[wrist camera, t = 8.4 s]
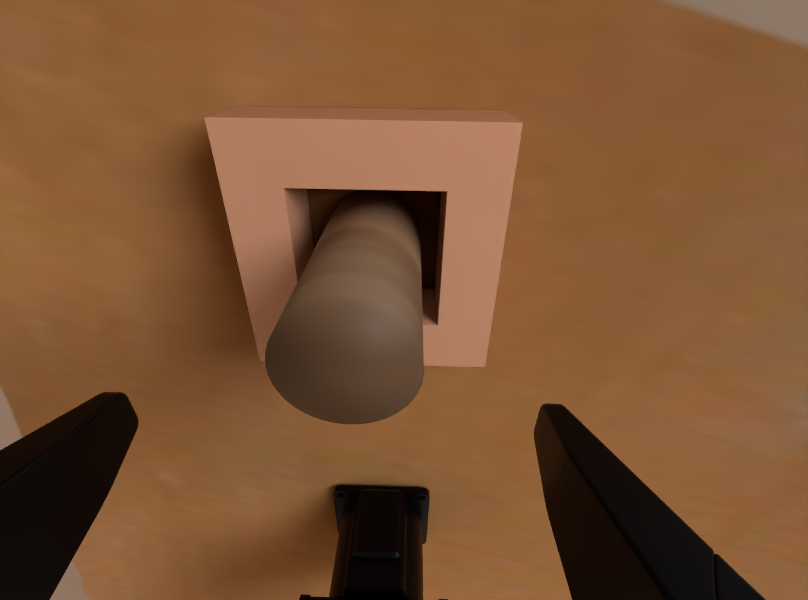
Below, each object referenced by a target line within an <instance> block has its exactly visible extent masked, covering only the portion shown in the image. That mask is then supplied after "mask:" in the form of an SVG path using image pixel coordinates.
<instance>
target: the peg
mask: <svg viewBox="0 0 808 600" xmlns="http://www.w3.org/2000/svg"><path fill="white" fill-rule="evenodd" d="M265 364H266V370H267V373H268V376H269V378H270V380H271V382H272V384H273V385H274V387H275V388H276V390H277V391H278V392H279V393H280V395H281V396H282V397H283V398H284V399H285V400H287V401H288V402H289V403H290V404H291V405H293V406H294V407H296V408H297V409H299V410H301V411H302V412H304V413H306V414H308V415H310V416H313V417H315V418H318V419H321V420H325V421H329V422H334V423H340V424H364V423H370V422H375V421H379V420H382V419H385V418H388V417H390V416H392V415H394V414H396V413H397V412H399V411H401V410H402V409H403V408H405V407H406V406H407V405H408V404H409V403H410V402H411V401H412V400H413V399H414V397H415V396H416V395H417V393H418V391H419V389H420V387H421V384H422V381H423V375H424V355H423V316H422V278H421V239H420V224H419V220H418V217H417V215H416V213H415V211H414V209H413V208H412V206H411V205H410V204H409V203H408V202H407V201H406V200H405V199H404V198H403V197H401V196H400V195H398V194H396V193H394V192H392V191H390V190H357V191H354V192H352V193H350V194H349V195H347V196H346V197H344V198H343V199H342V200H341V201H340V202H339V204H338V205H337V206H336V208H335V210H334V212H333V214H332V216H331V217H330V219H329V221H328V223H327V225H326V227H325V229H324V231H323V233H322V235H321V237H320V239H319V241H318V243H317V245H316V247H315V249H314V251H313V253H312V255H311V257H310V259H309V261H308V263H307V265H306V267H305V269H304V271H303V273H302V275H301V277H300V279H299V281H298V282H297V284H296V286H295V288H294V290H293V292H292V294H291V296H290V298H289V300H288V302H287V304H286V306H285V308H284V310H283V312H282V314H281V316H280V318H279V320H278V322H277V324H276V326H275V328H274V330H273V332H272V334H271V336H270V338H269V340H268V343H267V346H266V351H265Z"/></svg>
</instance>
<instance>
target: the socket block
mask: <svg viewBox="0 0 808 600" xmlns="http://www.w3.org/2000/svg"><path fill="white" fill-rule="evenodd" d="M204 118H205V123H206V127H207V131H208V136H209V140H210V144H211V149H212V153H213V157H214V162H215V166H216V171H217V175H218V179H219V184H220V188H221V192H222V197H223V201H224V206H225V210H226V214H227V219H228V223H229V227H230V232H231V236H232V240H233V245H234V249H235V254H236V258H237V262H238V267H239V271H240V275H241V280H242V284H243V288H244V293H245V297H246V302H247V306H248V310H249V315H250V319H251V323H252V328H253V332H254V337H255V341H256V345H257V350H258V354H259V358H260V361H265V351H266V346H267V343H268V340H269V338H270V336H271V334H272V332H273V330H274V328H275V326H276V324H277V322H278V320H279V318H280V316H281V314H282V312H283V310H284V308H285V306H286V304H287V302H288V300H289V298H290V296H291V294H292V292H293V290H294V288H295V286H296V284H297V282H298V281H299V279H300V277H301V275H302V273H303V271H304V269H305V267H306V265H307V263H308V261H309V259H310V257H311V255H312V253H313V251H314V246H313V237H312V228H311V220H310V211H309V202H308V193H307V189H356V190H407V191H441V198H440V215H439V231H438V247H437V263H436V280H435V289H422V316H423V355H424V366H463V367H485V363H486V356H487V350H488V344H489V337H490V331H491V324H492V318H493V311H494V305H495V299H496V292H497V286H498V279H499V273H500V266H501V260H502V254H503V247H504V241H505V234H506V228H507V222H508V215H509V209H510V202H511V196H512V189H513V183H514V177H515V170H516V164H517V157H518V151H519V144H520V138H521V132H522V125H523V122H521V121H520V120H518V119H517V118H515V117H514V116H512V115H511V114H509V113H508V112H506V111H505V110H445V109H385V108H325V107H265V106H238V107H235V108H232V109H229V110H226V111H222V112H219V113H216V114H213V115H210V116H206V117H204Z"/></svg>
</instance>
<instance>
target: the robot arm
mask: <svg viewBox="0 0 808 600" xmlns="http://www.w3.org/2000/svg"><path fill="white" fill-rule="evenodd" d="M137 428H138V417H137V415H136V413H135V411H134V409H133V407H132V405H131V403H130V401H129V399H128V397H127V395H126V394H124V393H121V392H104V393H101V394H99V395H97V396H95V397H93V398H92V399H90V400H88V401H86V402H85V403H83V404H81V405H79V406H78V407H76V408H74V409H72V410H70V411H69V412H67V413H65V414H63V415H62V416H60V417H58V418H56V419H55V420H53V421H51V422H49V423H48V424H46V425H44V426H42V427H41V428H39V429H37V430H35V431H34V432H32V433H30V434H28V435H26V436H25V437H23V438H21V439H20V440H18V441H16V442H14V443H12V444H11V445H9V446H7V447H5V448H4V449H2V450H0V600H50V598H51V596H52V594H53V593H54V591H55V589H56V587H57V585H58V584H59V582H60V580H61V578H62V577H63V575H64V573H65V571H66V569H67V568H68V566H69V564H70V562H71V561H72V559H73V557H74V555H75V553H76V552H77V550H78V548H79V546H80V544H81V543H82V541H83V539H84V537H85V536H86V534H87V532H88V530H89V528H90V527H91V525H92V523H93V521H94V520H95V518H96V516H97V514H98V512H99V511H100V509H101V507H102V505H103V503H104V501H105V499H106V498H107V495H108V493H109V491H110V489H111V487H112V485H113V483H114V480H115V478H116V476H117V474H118V471H119V469H120V467H121V465H122V462H123V460H124V458H125V456H126V453H127V451H128V449H129V446H130V444H131V442H132V440H133V437H134V435H135V433H136V431H137ZM534 441H535V447H536V452H537V458H538V464H539V469H540V475H541V481H542V487H543V492H544V498H545V503H546V508H547V513H548V516H549V520H550V524H551V527H552V531H553V534H554V538H555V541H556V545H557V548H558V552H559V555H560V559H561V562H562V565H563V569H564V572H565V576H566V579H567V583H568V586H569V590H570V593H571V597H572V600H766V599H765V598H763V597H762V596H761V595H760V594H759V593H758V592H757V591H756V590H755V589H754V588H753V587H752V586H751V585H750V584H748V583H747V582H746V581H745V580H744V579H743V578H742V577H741V576H740V575H739V574H738V573H737V572H736V571H735V570H734V569H733V568H732V567H731V566H730V565H728V564H727V563H726V562H725V561H724V560H723V559H722V558H721V557H720V556H719V555H718V554H714V551H713V549H712V548H711V547H710V546H709V545H708V544H706V543H705V542H704V541H703V540H702V539H701V538H700V537H699V536H698V535H697V534H696V533H695V532H694V531H693V530H692V529H691V528H690V527H689V526H688V525H687V524H686V523H685V522H684V521H683V520H682V519H681V518H680V517H679V516H677V515H676V514H675V513H674V512H673V511H672V510H671V509H670V508H669V507H668V506H667V505H666V504H665V503H664V502H663V501H662V500H661V499H660V498H659V497H658V496H657V495H656V494H655V493H654V492H653V491H652V490H651V489H650V488H648V487H647V486H646V485H645V484H644V483H643V482H642V481H641V480H640V479H639V478H638V477H637V476H636V475H635V474H634V473H633V472H632V471H631V470H630V469H629V468H628V467H627V466H626V465H625V464H624V463H623V462H622V461H620V460H619V459H618V458H617V457H616V456H615V455H614V454H613V453H612V452H611V451H610V450H609V449H608V448H607V447H606V446H605V445H604V444H603V443H602V442H601V441H600V440H599V439H598V438H597V437H596V436H595V435H594V434H593V433H591V432H590V431H589V430H588V429H587V428H586V427H585V426H584V425H583V424H582V423H581V422H580V421H579V420H578V419H577V418H576V417H575V416H574V415H573V414H572V413H571V412H570V411H569V410H568V409H567V408H566V407H564V406H563V405H561V404H543V405H542V406H541V407H540V411H539V414H538V418H537V422H536V425H535V429H534ZM333 496H334V504H335V511H336V519H337V526H338V533H339V537H338V544H337V550H336V556H335V563H334V569H333V575H332V582H331V588H330V594H329V597H311V596H310V595H303V594H301V596H300V599H299V600H423V553H422V544H424V543H426V536H427V523H428V510H429V490H428V489H426V488H414V487H380V486H345V485H340V486H336V487H335V489H334V494H333ZM439 600H448V599H439Z"/></svg>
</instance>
